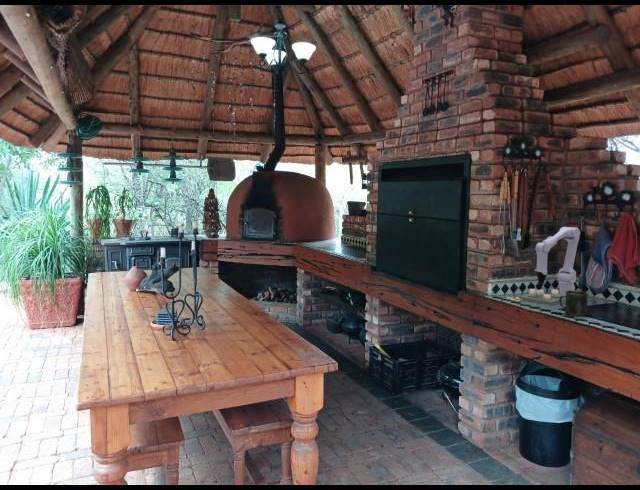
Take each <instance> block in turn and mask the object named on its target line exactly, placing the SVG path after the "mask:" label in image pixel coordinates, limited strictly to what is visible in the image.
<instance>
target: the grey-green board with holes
mask: <svg viewBox="0 0 640 490" xmlns="http://www.w3.org/2000/svg"><path fill="white" fill-rule="evenodd" d="M560 297H561V296H559V295H558V298H552V297H551V300H544V299H543V296H539V295H537V292H536V297H529V293H528V294H524V295H523V294H522V295H520V296H519V299H523V300H522V301H525V302H526V301H527V302H530V303H537V304H543V305H548V306H553V305H556V304H557V305H558V304H560V303H559V298H560ZM561 303H566V297H564V298H562V299H561Z"/></svg>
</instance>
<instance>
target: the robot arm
mask: <svg viewBox="0 0 640 490" xmlns="http://www.w3.org/2000/svg"><path fill="white" fill-rule="evenodd" d="M580 235H581V231H580V229H579V227H568V226H562V227H560V228H559V231H558V232H557V233H556V234H555V235H553V236H548V237H546V238H545V239H544V240H542V242H537V243H536V245H535V247H534V250H535V251H536V253H535V254H536V268H535V269H534V272H536V273H535V275H536V277H537V282H538V285H539V286H543V285H544V284H545V281H546V278H547V276H548V257H549V256H548V255H549V254H548V253H549V252H550V250H551V248H553V247H554V246H556V245H557V243H558V241H560V240H562V239H564V240H565V241H566V242H567V247H566V253H565V257H564V262H563V267H561V268H560V269H559V271H558V273H557V275H556V280H557V281H558V283H559V289H558V290H559V292H558V296H566V292H565V291H569V290H575V289H576V286H575V284H574V283H576V281H577V272H576V270H575V269H574V265H575V264H574V263H575V260H576V259H575V258H576V254H577V248H578V244H579V241H580ZM575 291H576V290H575Z"/></svg>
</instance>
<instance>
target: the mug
mask: <svg viewBox="0 0 640 490" xmlns="http://www.w3.org/2000/svg"><path fill="white" fill-rule="evenodd" d="M565 292H566V296H561V297H560V298H559V303H558V304H559V305H560V307H561V308H562V309H564V310H565V312H564V313H565V314H567V315H569V316H576V317H577V316H578V317H584V316H587V313H588V312H587V311H588V310H587V309H588V295H589V292H587V291H583V290H569V291H565ZM564 297H566V301H565V306H564V305H563V302H561V299H562V298H564Z"/></svg>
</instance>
